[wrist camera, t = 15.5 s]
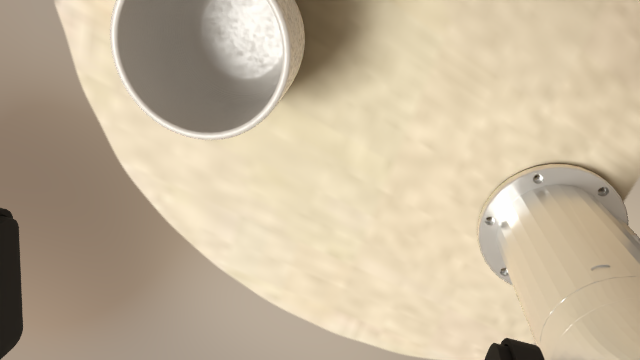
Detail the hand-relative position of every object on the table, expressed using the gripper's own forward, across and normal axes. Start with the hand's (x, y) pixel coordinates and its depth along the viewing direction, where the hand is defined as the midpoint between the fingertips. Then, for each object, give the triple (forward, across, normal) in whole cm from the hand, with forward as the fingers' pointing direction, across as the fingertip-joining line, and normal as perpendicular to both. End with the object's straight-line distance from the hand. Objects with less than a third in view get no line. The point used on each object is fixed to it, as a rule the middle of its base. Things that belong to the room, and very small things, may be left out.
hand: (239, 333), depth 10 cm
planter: (+36, +11, 0) cm, 37 cm away
